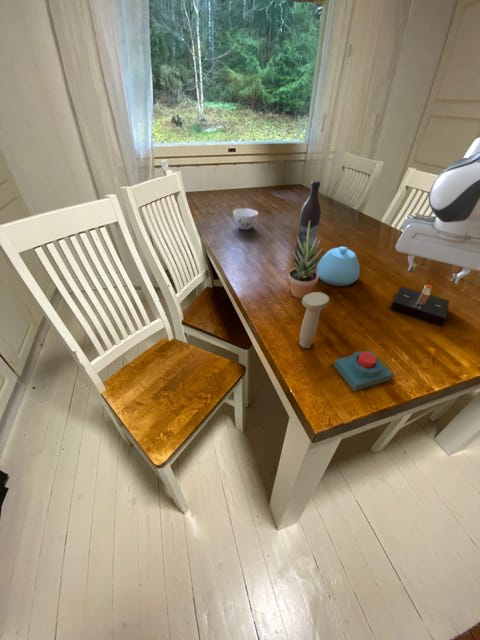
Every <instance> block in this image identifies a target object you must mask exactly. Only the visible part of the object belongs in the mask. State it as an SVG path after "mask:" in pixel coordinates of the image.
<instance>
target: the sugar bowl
mask: <svg viewBox="0 0 480 640" xmlns="http://www.w3.org/2000/svg"><path fill="white" fill-rule="evenodd" d="M317 268H318V269H317ZM315 269H317V270H318V271H316V272H317V273H318V276H319V278H318V279H320V280H321V281H322V282H324V283H326V284H327V285H331V286H335V287H345V286H349V285H352V284H353V283H355V282H356V281H357V280H358V279H359V277H360V270H361V268H360V263H359V260H358V257H357V254H356V253H355V252H354V251H352V250H351V249H349V248H348V247H346V246H339V247H334V248H331V249H330V250H328V251H327V252H326V253H325V254H323V256H322V257H321V258H320V262H319V263H318V264H317V265H316V268H315Z"/></svg>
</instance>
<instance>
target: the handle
mask: <svg viewBox="0 0 480 640" xmlns="http://www.w3.org/2000/svg"><path fill="white" fill-rule="evenodd" d="M329 301H330V297H329V296H328V295H327V294H326V293H323V292H321V291H317V292H316V291H314V292H311V293H309V294H307V295H305V296H304V297H303V298H301V304H302V306H303V307H304V308H306V309H305V312H304V316H303V320H302V323H301V327H300V332H299V346H300V347H302V349H310V348H311V347H312V344H313V343H314V340H315V339H316V335H317V331H318V328H319V327H318V326H319V319H320V315H321V311H322V310H323V309H325V308H326V307H327V305H328V303H329Z"/></svg>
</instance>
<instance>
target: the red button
mask: <svg viewBox="0 0 480 640" xmlns="http://www.w3.org/2000/svg"><path fill="white" fill-rule="evenodd" d="M373 354H374V353H373ZM373 354H371V353H368V352H367V351H362V353H361V354H360V355H359V358H358V363H359V365H360V366H362V367H364V368H372V367H374V365H375V362H376V357H377V356H376V355H375V354H374V355H375V356H376V357H375V356H374V355H373Z"/></svg>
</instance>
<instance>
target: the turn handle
mask: <svg viewBox="0 0 480 640" xmlns="http://www.w3.org/2000/svg"><path fill="white" fill-rule="evenodd" d="M432 289H433V285H429V284H425V285H424V287H423V289H422V290H421V295H420V297H419V300H418V303H417V305H420V306H424V305H425V303H426V301H427V299H428V297H429V295H431V293H432V292H431V291H432Z"/></svg>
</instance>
